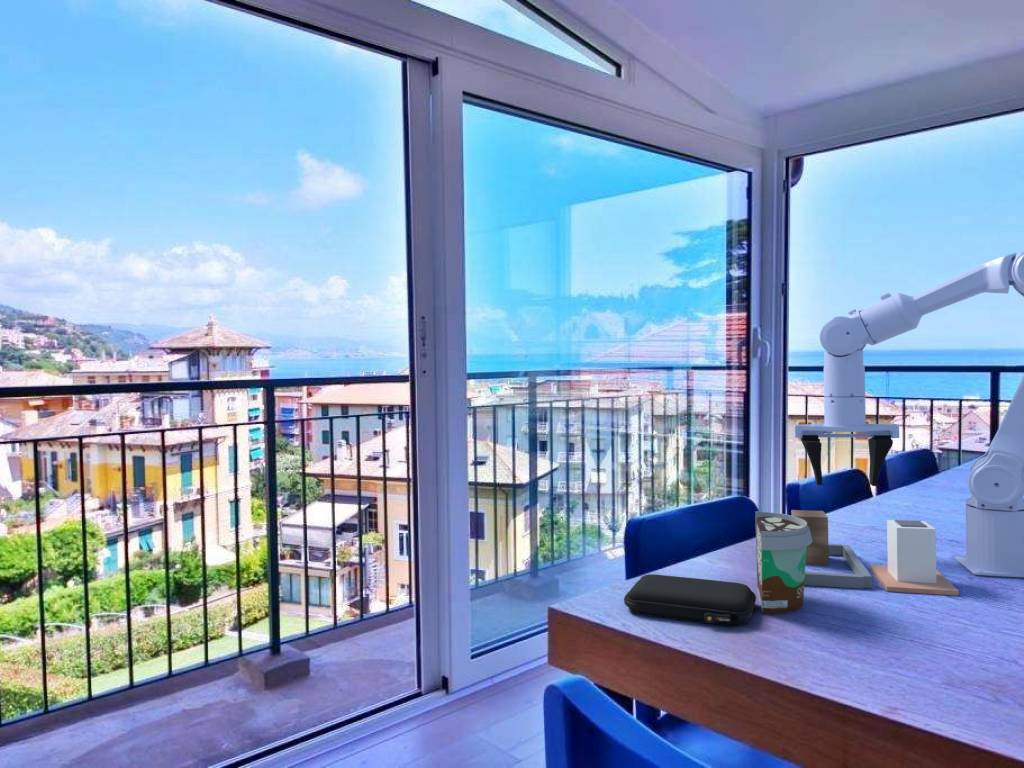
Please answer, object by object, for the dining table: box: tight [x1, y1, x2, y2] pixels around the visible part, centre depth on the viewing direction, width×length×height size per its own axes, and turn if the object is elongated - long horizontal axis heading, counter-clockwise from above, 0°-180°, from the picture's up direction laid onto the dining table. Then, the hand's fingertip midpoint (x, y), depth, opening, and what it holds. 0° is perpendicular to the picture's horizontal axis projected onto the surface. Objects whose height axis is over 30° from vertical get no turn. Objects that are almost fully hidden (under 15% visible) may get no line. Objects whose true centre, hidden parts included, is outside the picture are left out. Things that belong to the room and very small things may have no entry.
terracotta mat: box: [869, 564, 960, 597], centre depth 91 cm, size 8×10×1 cm
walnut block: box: [791, 509, 830, 566], centre depth 102 cm, size 4×4×7 cm
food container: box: [754, 511, 812, 615], centre depth 84 cm, size 12×6×10 cm, turn 164°
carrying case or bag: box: [623, 573, 757, 627], centre depth 82 cm, size 11×3×15 cm
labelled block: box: [886, 519, 937, 583], centre depth 91 cm, size 4×4×7 cm
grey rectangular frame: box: [804, 542, 873, 590], centre depth 98 cm, size 12×17×2 cm
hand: (845, 484), depth 105 cm, fingers open, 7 cm apart
